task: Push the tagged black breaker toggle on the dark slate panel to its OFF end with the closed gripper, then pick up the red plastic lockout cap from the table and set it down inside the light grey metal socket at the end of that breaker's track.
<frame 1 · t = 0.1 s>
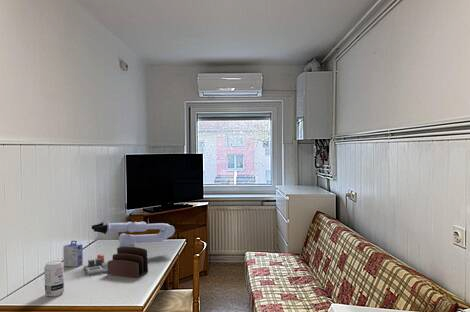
hand: (92, 228, 236), 22 cm above the table, tool horizontal, fingers open, 7 cm apart
breaker panel: (98, 269, 224), on the table
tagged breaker: (91, 262, 228), point 3 cm above the table, slide at 0.0 cm
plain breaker: (98, 261, 230), point 3 cm above the table, slide at 0.0 cm
lockout cap: (100, 263, 238), on the table
supplement can: (54, 294, 186), on the table
ink cartridge box: (73, 265, 234), on the table
letter holder: (128, 274, 216), on the table
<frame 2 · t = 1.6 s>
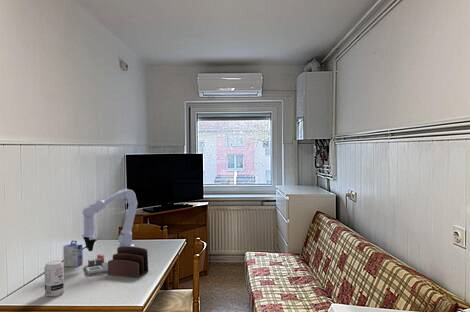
hand: (89, 249, 234), 9 cm above the table, tool pointing down, fingers open, 7 cm apart
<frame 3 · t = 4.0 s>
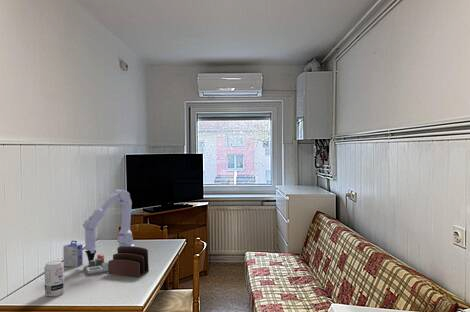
hand: (90, 262, 230), 3 cm above the table, tool pointing down, fingers closed
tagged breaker: (91, 263, 227), point 3 cm above the table, slide at 1.6 cm, touching gripper
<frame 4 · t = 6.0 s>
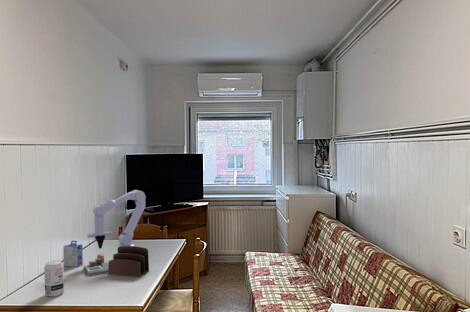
hand: (100, 248, 237), 9 cm above the table, tool pointing down, fingers closed
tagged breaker: (92, 264, 225), point 3 cm above the table, slide at 4.0 cm
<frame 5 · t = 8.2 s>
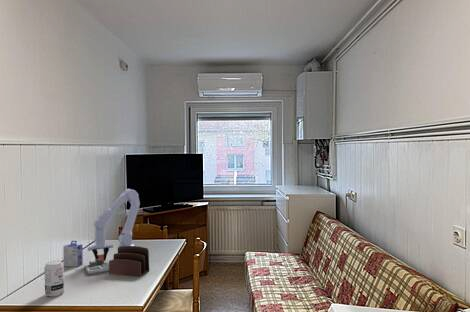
hand: (100, 260, 238), 1 cm above the table, tool pointing down, fingers closed on lockout cap, 4 cm apart
lockout cap: (100, 263, 238), on the table, touching gripper
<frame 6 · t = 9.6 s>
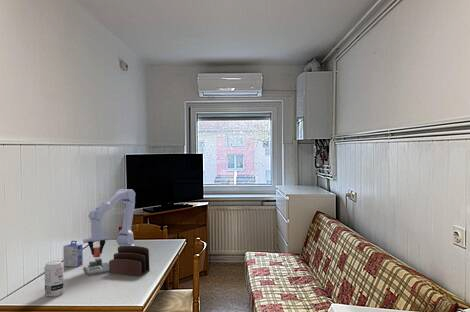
hand: (96, 253, 227), 9 cm above the table, tool pointing down, fingers closed on lockout cap, 4 cm apart
lockout cap: (96, 256, 227), point 7 cm above the table, touching gripper
when the fingers open (4 cm above the table, at t = 11.3 s): lockout cap drops 1 cm, resting on breaker panel.
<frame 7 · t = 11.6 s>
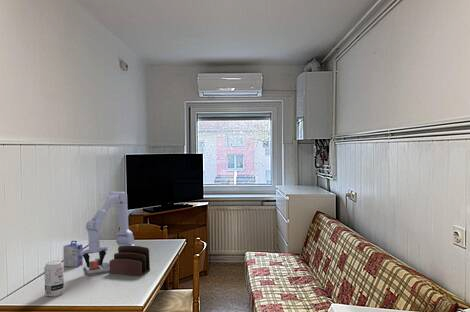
hand: (94, 265, 219), 4 cm above the table, tool pointing down, fingers open, 7 cm apart
lockout cap: (94, 270, 219), point 1 cm above the table, touching breaker panel
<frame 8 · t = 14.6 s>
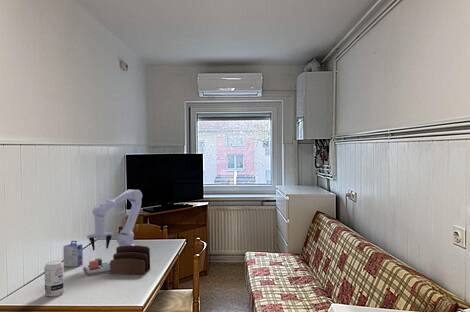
hand: (100, 249, 232), 10 cm above the table, tool pointing down, fingers open, 7 cm apart
at the end: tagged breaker slide at 4.0 cm; lockout cap 0.2 cm from the target spot on the breaker panel, point 1.2 cm above the breaker panel's base; lockout cap tilted 0° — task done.
